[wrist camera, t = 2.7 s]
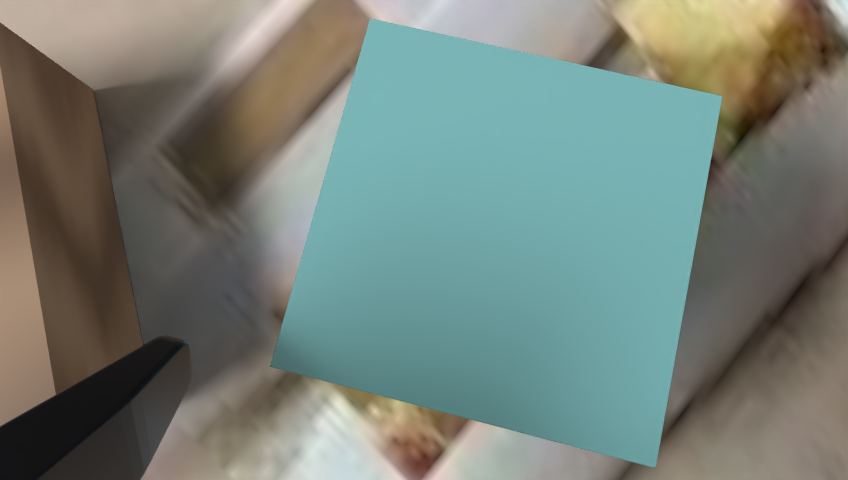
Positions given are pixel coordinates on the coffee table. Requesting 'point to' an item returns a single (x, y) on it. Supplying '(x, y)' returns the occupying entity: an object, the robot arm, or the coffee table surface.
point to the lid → (505, 240)
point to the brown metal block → (55, 235)
